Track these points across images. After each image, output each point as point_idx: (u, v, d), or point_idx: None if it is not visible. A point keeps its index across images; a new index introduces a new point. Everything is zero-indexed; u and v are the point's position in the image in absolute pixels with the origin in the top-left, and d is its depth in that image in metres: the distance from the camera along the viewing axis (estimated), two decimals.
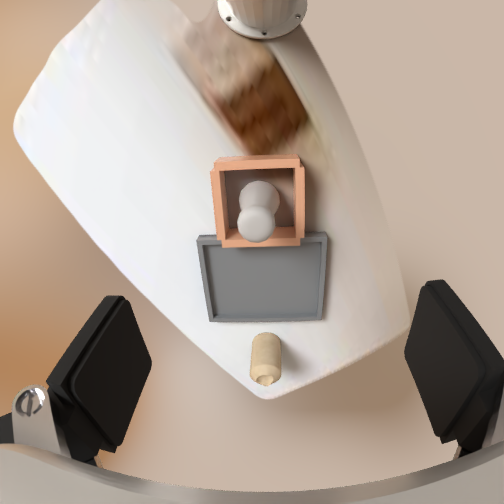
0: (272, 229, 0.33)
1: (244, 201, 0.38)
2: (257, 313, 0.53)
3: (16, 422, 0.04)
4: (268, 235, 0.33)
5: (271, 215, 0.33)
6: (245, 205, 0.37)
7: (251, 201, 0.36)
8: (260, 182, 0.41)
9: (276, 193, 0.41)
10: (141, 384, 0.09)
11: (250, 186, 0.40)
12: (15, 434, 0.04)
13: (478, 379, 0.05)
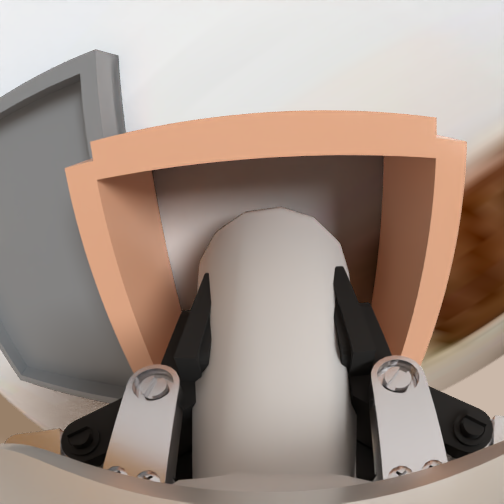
0: None
1: (327, 320, 0.07)
2: None
3: (127, 401, 0.05)
4: None
5: None
6: (331, 372, 0.05)
7: (347, 389, 0.06)
8: None
9: None
10: None
11: None
12: (120, 414, 0.05)
13: (345, 361, 0.06)
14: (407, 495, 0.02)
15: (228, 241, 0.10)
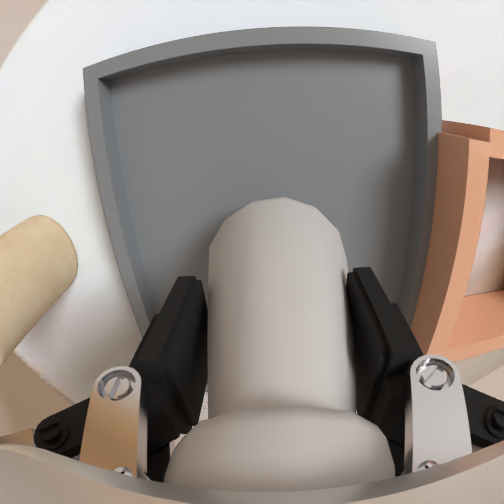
0: None
1: (328, 289, 0.08)
2: (136, 227, 0.15)
3: (94, 402, 0.05)
4: None
5: None
6: (332, 332, 0.06)
7: (347, 350, 0.07)
8: None
9: None
10: None
11: (343, 256, 0.11)
12: (89, 415, 0.05)
13: (383, 362, 0.06)
14: (407, 495, 0.02)
15: (237, 225, 0.11)
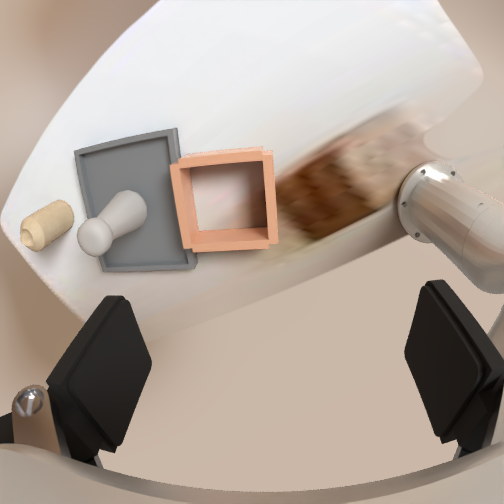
0: (92, 255, 0.30)
1: (118, 208, 0.34)
2: (93, 202, 0.41)
3: (16, 422, 0.04)
4: (86, 252, 0.30)
5: (104, 252, 0.30)
6: (113, 214, 0.32)
7: (117, 219, 0.33)
8: (144, 212, 0.38)
9: (136, 228, 0.39)
10: (141, 384, 0.09)
11: (137, 205, 0.37)
12: (15, 434, 0.04)
13: (478, 379, 0.05)
14: (407, 495, 0.02)
15: (112, 198, 0.37)
